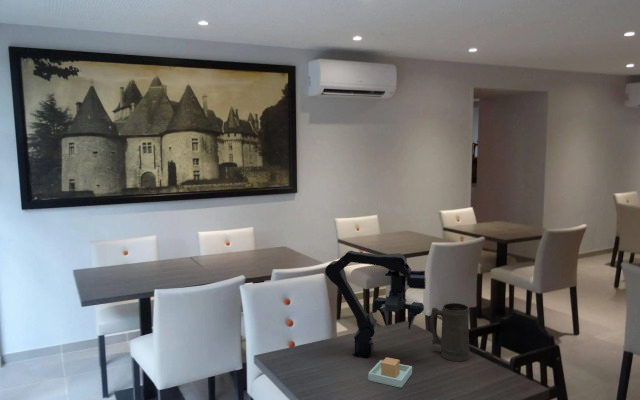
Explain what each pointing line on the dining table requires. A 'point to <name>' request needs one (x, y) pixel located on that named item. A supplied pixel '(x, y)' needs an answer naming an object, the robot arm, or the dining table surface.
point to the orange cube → (390, 367)
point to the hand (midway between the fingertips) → (397, 327)
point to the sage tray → (398, 381)
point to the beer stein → (452, 331)
